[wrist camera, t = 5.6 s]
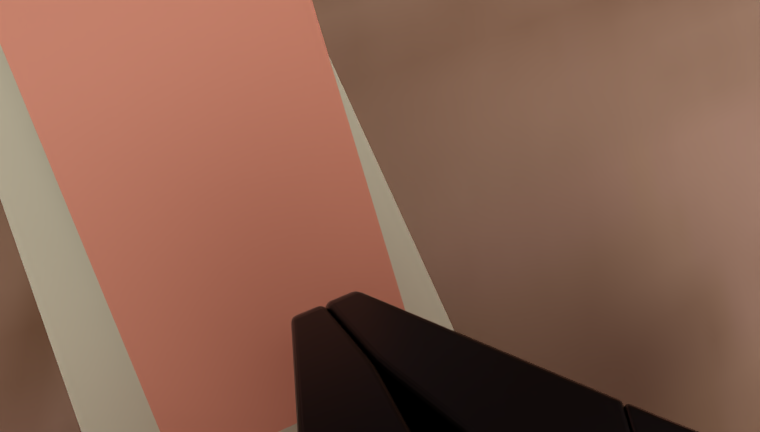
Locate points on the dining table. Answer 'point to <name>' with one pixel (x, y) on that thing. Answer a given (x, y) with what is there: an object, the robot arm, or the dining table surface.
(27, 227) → the strip
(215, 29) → the domino
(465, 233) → the dining table surface
